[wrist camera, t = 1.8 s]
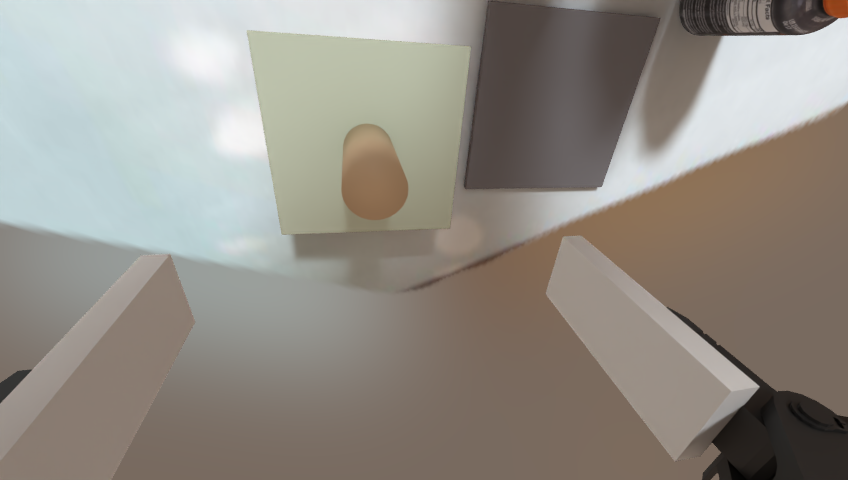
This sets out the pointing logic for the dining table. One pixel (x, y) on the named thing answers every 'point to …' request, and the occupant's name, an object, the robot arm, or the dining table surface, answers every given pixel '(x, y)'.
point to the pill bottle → (759, 16)
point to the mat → (553, 94)
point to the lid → (360, 130)
